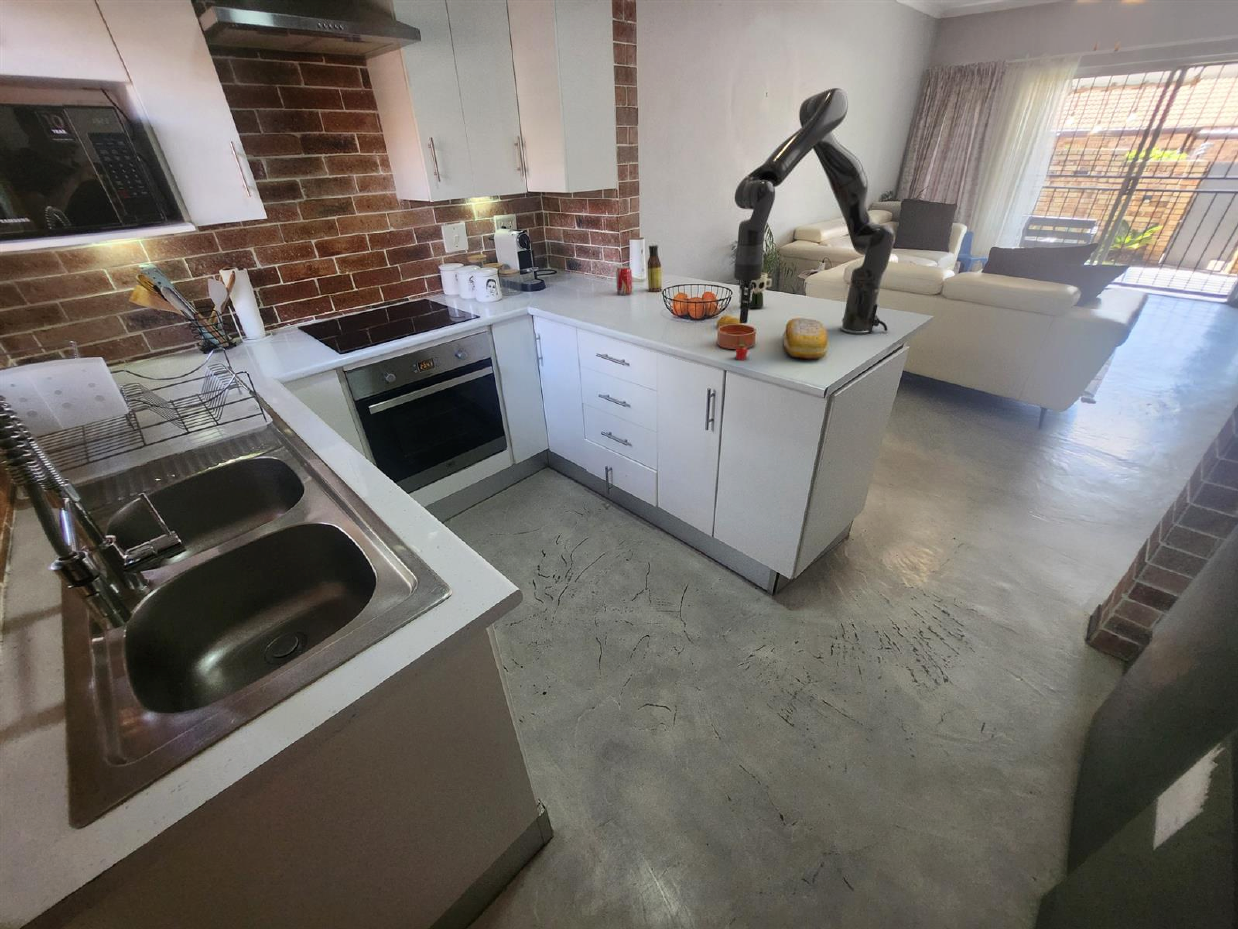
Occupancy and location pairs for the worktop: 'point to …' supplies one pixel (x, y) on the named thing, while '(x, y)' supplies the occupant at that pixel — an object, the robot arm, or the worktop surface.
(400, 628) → the worktop surface
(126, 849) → the worktop surface
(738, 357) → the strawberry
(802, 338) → the bread
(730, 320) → the bread roll
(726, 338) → the bowl
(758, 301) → the character mug
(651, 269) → the sauce bottle
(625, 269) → the soda can
